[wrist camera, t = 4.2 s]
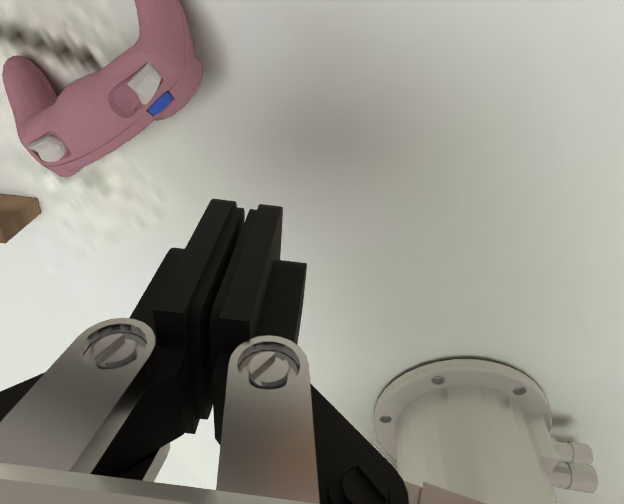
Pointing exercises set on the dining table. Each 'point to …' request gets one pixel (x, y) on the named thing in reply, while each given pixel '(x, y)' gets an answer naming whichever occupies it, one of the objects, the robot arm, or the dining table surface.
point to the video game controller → (106, 93)
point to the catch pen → (16, 214)
